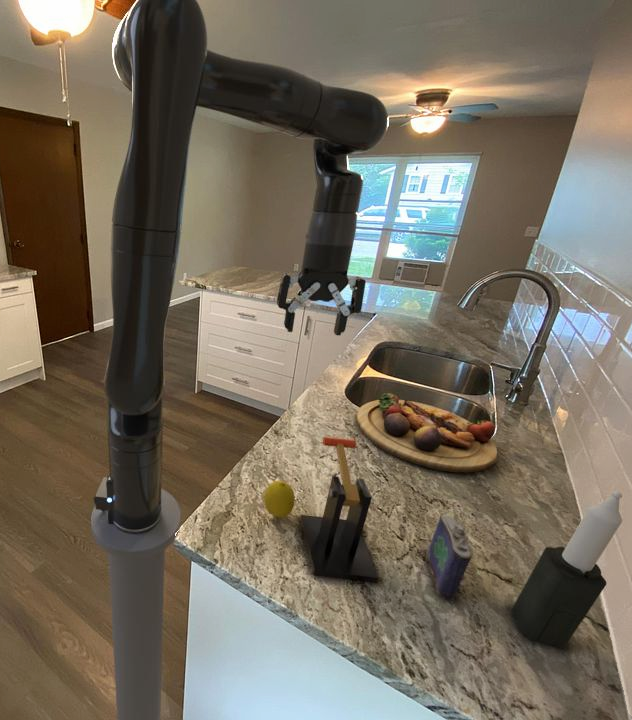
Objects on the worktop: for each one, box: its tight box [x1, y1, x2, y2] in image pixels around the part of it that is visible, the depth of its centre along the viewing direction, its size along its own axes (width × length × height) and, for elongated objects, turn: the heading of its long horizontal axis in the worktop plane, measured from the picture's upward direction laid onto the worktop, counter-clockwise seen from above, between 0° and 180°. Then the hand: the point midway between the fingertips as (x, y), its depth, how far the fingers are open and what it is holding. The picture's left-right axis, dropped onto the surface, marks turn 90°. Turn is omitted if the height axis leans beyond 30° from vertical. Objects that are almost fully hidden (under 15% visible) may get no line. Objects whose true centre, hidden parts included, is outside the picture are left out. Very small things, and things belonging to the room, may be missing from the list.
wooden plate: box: [355, 392, 499, 473], centre depth 101 cm, size 32×32×8 cm
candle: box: [511, 491, 623, 649], centre depth 51 cm, size 5×5×25 cm
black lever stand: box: [300, 475, 379, 584], centre depth 65 cm, size 12×10×14 cm
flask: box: [425, 514, 472, 601], centre depth 62 cm, size 9×3×11 cm, turn 162°
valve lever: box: [322, 436, 360, 507], centre depth 67 cm, size 12×5×2 cm, turn 173°
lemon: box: [263, 480, 295, 518], centre depth 73 cm, size 6×6×8 cm
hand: (313, 332), depth 71 cm, fingers open, 8 cm apart
